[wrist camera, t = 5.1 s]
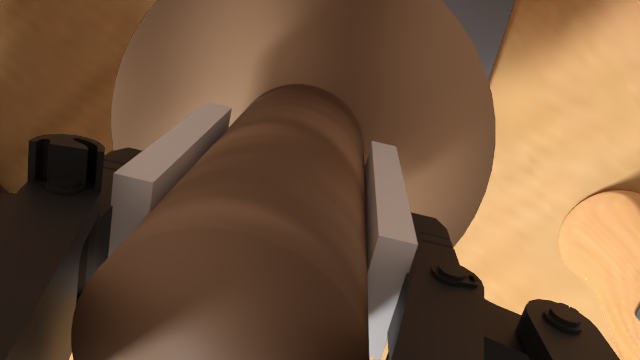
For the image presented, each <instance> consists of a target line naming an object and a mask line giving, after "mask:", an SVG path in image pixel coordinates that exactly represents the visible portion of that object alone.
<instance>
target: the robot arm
mask: <svg viewBox="0 0 640 360" xmlns="http://www.w3.org/2000/svg"><path fill="white" fill-rule="evenodd" d="M231 111H232V107H227V106H223V105H219V104H215V103H211V102H207V103H205V104H204V105H203V106H201V107H200V108H199V109H197V110H196V111H195V112H193V113H192V114H191V115H189V116H188V117H187V118H186V119H184V120H183V121H182V122H180V123H179V124H178V125H176V126H175V127H174V128H172V129H171V130H170V131H168V132H167V133H166V134H164V135H163V136H162V137H161V138H159V139H158V140H157V141H155V142H154V143H153V144H151V145H150V146H149V147H147V148H146V149H145V150H143V151H142V150H138V149H134V148H129V147H127V148H123V149H119V150H115V151H111V152H110V153H108V154H107V155H105V156H104V152H105V147H104V146H103V145H102V144H100V143H99V142H97V141H95V140H92V139H90V138H85V137H81V136H76V135H66V134H52V135H43V136H38V137H35V138H33V139H31V140H29V154H28V182H27V183H26V184H25V185H24V186H23V187H22V188H21V189H20V190H19V191H18V192H17V194H8V193H7V192H6V191H5V190H3V189H2V188H1V187H0V360H69V358H70V356H71V353H72V348H71V328H72V321H73V315H74V311H75V308H76V305H77V302H78V299H79V297H80V295H81V293H82V291H83V289H84V287H85V285H86V284H87V282H88V281H89V280H90V278H91V277H92V276H93V274H94V273H95V272H96V270H97V269H98V268H99V267H100V266H101V265H102V264H103V263H104V262H105V261H106V259H107V258H108V257H109V256H110V255H111V254H112V253H113V252H114V251H115V250H116V249H117V248H118V246H119V245H120V244H121V243H122V242H123V241H124V240H125V239H126V238H127V237H128V236H129V235H130V234H131V232H132V231H133V230H134V229H135V228H136V227H137V226H138V225H139V224H140V223H141V222H142V221H143V220H144V218H145V217H146V216H147V215H148V214H149V213H150V212H151V211H152V210H153V209H154V208H155V207H156V206H157V204H158V203H159V202H160V201H161V200H162V199H163V198H164V197H165V196H166V195H167V194H168V193H169V192H170V190H171V189H172V188H173V187H174V186H175V185H176V184H177V183H178V182H179V181H180V180H181V179H182V177H183V176H184V175H185V174H186V173H187V172H188V171H189V170H190V169H191V168H192V167H193V166H194V165H195V163H196V162H197V161H198V160H199V159H200V158H201V157H202V156H203V155H204V154H205V153H206V152H207V151H208V149H209V148H210V147H211V146H212V145H213V144H214V143H215V142H216V141H217V140H218V139H219V138H220V137H221V135H222V134H223V133H224V132H225V131H226V130H227V129H228V128H229V122H230V116H231ZM365 201H366V241H367V282H368V322H369V357H370V358H374V359H379V360H381V357H382V354H383V351H384V348H385V345H386V342H387V339H388V351H389V352H388V355H387V358H386V360H620V359H619V358H618V356H617V355H616V353H615V352H614V351H613V349H612V348H611V346H610V345H609V344H608V342H607V341H606V340H605V338H604V337H603V335H602V334H601V333H600V331H599V330H598V328H597V327H596V326H595V325H594V324H593V323H592V322H591V321H590V320H589V319H587V318H586V317H584V316H583V315H581V314H580V313H579V312H578V311H577V310H576V309H574V308H572V307H570V308H569V306H568V305H565V304H563V303H556V302H553V301H550V300H541V299H536V300H531V301H529V302H528V304H527V305H526V306H525V309H524V311H523V313H522V315H519V314H517V313H514V312H512V311H509V310H507V309H504V308H502V307H500V306H497V305H495V304H493V303H491V302H489V301H487V300H486V299H484V286H483V284H482V281H481V280H480V279H479V278H478V277H477V276H476V275H475V274H474V273H472V272H471V271H469V270H468V269H466V268H465V267H462V266H460V264H459V262H458V259H457V256H456V253H455V250H454V249H453V245H452V242H451V241H450V236H449V233H448V231H447V228H446V227H445V226H443V225H442V224H441V223H440V222H439V221H438V220H437V219H436V218H433V217H429V216H424V215H420V214H416V213H412V212H411V211H410V206H409V202H408V197H407V193H406V188H405V184H404V179H403V175H402V170H401V166H400V161H399V157H398V152H397V148H396V146H392V145H388V144H384V143H379V142H375V141H372V142H371V146H370V150H369V153H368V157H367V161H366V164H365Z"/></svg>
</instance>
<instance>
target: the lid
mask: <svg viewBox="0 0 640 360" xmlns="http://www.w3.org/2000/svg"><path fill="white" fill-rule="evenodd" d="M207 102H211V103H215V104H219V105H223V106H227V107H232V111H231V116H230V122H229V128H228V129H227V130H226V131H225V132H224V133H223V134H222V135H221V137H220V138H219V139H218V140H217V141H216V142H215V143H214V144H213V145H212V146H211V147H210V148H209V149H208V151H207V152H206V153H205V154H204V155H203V156H202V157H201V158H200V159H199V160H198V161H197V162H196V163H195V165H194V166H193V167H192V168H191V169H190V170H189V171H188V172H187V173H186V174H185V175H184V176H183V177H182V179H181V180H180V181H179V182H178V183H177V184H176V185H175V186H174V187H173V188H172V189H171V190H170V192H169V193H168V194H167V195H166V196H165V197H164V198H163V199H162V200H161V201H160V202H159V203H158V204H157V206H156V207H155V208H154V209H153V210H152V211H151V212H150V213H149V214H148V215H147V216H146V217H145V218H144V220H143V221H142V222H141V223H140V224H139V225H138V226H137V227H136V228H135V229H134V230H133V231H132V232H131V234H130V235H129V236H128V237H127V238H126V239H125V240H124V241H123V242H122V243H121V244H120V245H119V246H118V248H117V249H116V250H115V251H114V252H113V253H112V254H111V255H110V256H109V257H108V258H107V259H106V261H105V262H104V263H103V264H102V265H101V266H100V267H99V268H98V269H97V270H96V272H95V273H94V274H93V276H92V277H91V278H90V280H89V281H88V282H87V284H86V285H85V287H84V289H83V291H82V293H81V295H80V297H79V299H78V302H77V305H76V308H75V311H74V315H73V321H72V328H71V348H72V354H73V360H369V322H368V282H367V241H366V201H365V164H366V161H367V157H368V153H369V150H370V146H371V142H372V141H375V142H379V143H384V144H388V145H392V146H396V148H397V152H398V157H399V161H400V166H401V170H402V175H403V179H404V184H405V188H406V193H407V197H408V202H409V206H410V211H411V212H412V213H416V214H420V215H424V216H429V217H433V218H436V219H437V220H438V221H439V222H440V223H441V224H442V225H443V226H445V227H446V228H447V231H448V233H449V236H450V241H451V242H452V245H453V247H454V246H455V245H456V243H457V242H458V241H459V240H460V238H461V237H462V236H463V235H464V233H465V231H466V230H467V228H468V226H469V225H470V223H471V222H472V220H473V218H474V217H475V215H476V213H477V210H478V208H479V206H480V204H481V201H482V199H483V197H484V194H485V192H486V188H487V185H488V181H489V178H490V174H491V171H492V165H493V158H494V151H495V114H494V107H493V99H492V93H491V90H490V86H489V83H488V79H487V76H486V72H485V69H484V67H483V64H482V62H481V60H480V58H479V55H478V53H477V51H476V49H475V46H474V44H473V43H472V41H471V39H470V38H469V36H468V35H467V33H466V31H465V30H464V28H463V27H462V25H461V23H460V22H459V21H458V19H457V18H456V17H455V16H454V15H453V13H452V12H451V11H450V10H449V9H448V8H447V6H446V5H445V4H444V3H443V2H442V0H158V1H157V2H156V3H155V4H154V5H153V6H152V7H151V9H150V10H149V11H148V12H147V13H146V15H145V16H144V18H143V19H142V21H141V23H140V24H139V26H138V27H137V29H136V30H135V32H134V33H133V35H132V37H131V40H130V42H129V44H128V46H127V48H126V50H125V53H124V55H123V57H122V60H121V64H120V67H119V70H118V73H117V77H116V80H115V86H114V93H113V99H112V109H111V132H112V141H113V150H114V151H115V150H119V149H123V148H127V147H129V148H134V149H138V150H142V151H143V150H145V149H146V148H147V147H149V146H150V145H151V144H153V143H154V142H155V141H157V140H158V139H159V138H161V137H162V136H163V135H164V134H166V133H167V132H168V131H170V130H171V129H172V128H174V127H175V126H176V125H178V124H179V123H180V122H182V121H183V120H184V119H186V118H187V117H188V116H189V115H191V114H192V113H193V112H195V111H196V110H197V109H199V108H200V107H201V106H203V105H204V104H205V103H207Z"/></svg>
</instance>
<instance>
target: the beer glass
mask: <svg viewBox="0 0 640 360" xmlns="http://www.w3.org/2000/svg"><path fill="white" fill-rule="evenodd" d="M558 247H559V252H560V255H561V258H562V260H563V262H564V263H565V265H566V266H567V267H568V269H569V270H570V271H571V272H572V273H573V274H575V275H576V276H577V277H578V278H580V279H581V280H582V281H584V282H585V283H586V284H588V285H589V286H590V287H591V289H592V290H593V292H594V293H595V295H596V297H597V299H598V302H599V304H600V307H601V309H602V312H603V315H604V318H605V320H606V323H607V326H608V328H609V331H610V333H611V336H612V339H613V341H614V343H615V346H616V348H617V350H618V352H619V354H620V356H621V358H622V360H640V194H639V193H635V192H632V191H626V190H612V191H606V192H602V193H598V194H595V195H593V196H591V197H589V198H587V199H585V200H584V201H582V202H581V203H579V204H578V205H577V206H576V207H575V208H573V209H572V211H571V212H570V213H569V214H568V215H567V217H566V218H565V220H564V222H563V224H562V226H561V229H560V232H559V237H558Z"/></svg>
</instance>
